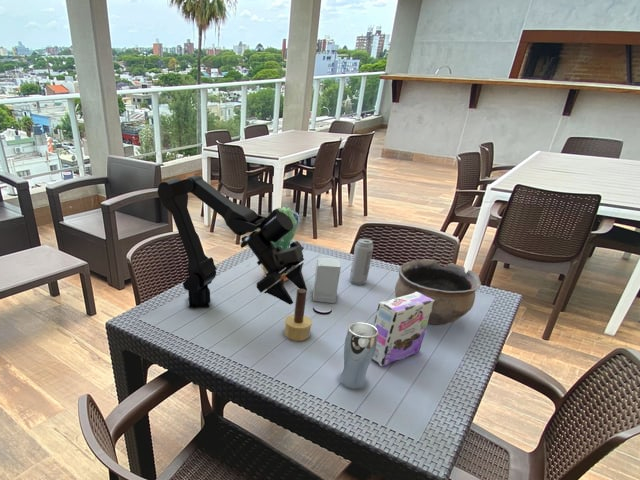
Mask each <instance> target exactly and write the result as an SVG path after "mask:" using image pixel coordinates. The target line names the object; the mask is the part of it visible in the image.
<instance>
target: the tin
mask: <svg viewBox="0 0 640 480" xmlns="http://www.w3.org/2000/svg"><path fill="white" fill-rule="evenodd" d="M311 326H312V325H311ZM311 326H310V327H309V328H307V329H294V328H291V327H289V326H287V325H286V324H285V323H284V336H285V337H286V338H287V339H289V340H290V341H293V342H303V341H306V340H308V339H309V337H310V333H311V328H312V327H311Z"/></svg>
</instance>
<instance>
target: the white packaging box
mask: <svg viewBox="0 0 640 480" xmlns="http://www.w3.org/2000/svg"><path fill="white" fill-rule="evenodd" d="M341 264H342V263H341V259H340V258H331V257H317V260H316V266H315V275H314V281H313V282H314V283H313V289H312V302H318V303H319V302H320V303H331V304H335V303H336V299H337V293H338V286H339V282H340V275H341V274H340V273H341V269H342V265H341Z"/></svg>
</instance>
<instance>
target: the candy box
mask: <svg viewBox="0 0 640 480" xmlns="http://www.w3.org/2000/svg"><path fill="white" fill-rule="evenodd" d="M434 301H435V300H433V299H431V298H429V297H427V296H425V295H423V294H421V293H419V292H415V293H412V294H409V295H405V296H401V297H398V298H396V297H394V298H391V299H387V300H384V301H379V302H378V305H377V311H376V314H375V319H374V322H373V326H374V327H376V328H377V330H378V336H377V344H376V349H375V352H374V355H373V358H372V360H371V361H373V362H375V363H376V364H377V365H378V366H380V367H386V366H388V365H390V364H394V363H396V362H399V361H401V360H404V359H407V358H410V357H413V356H416V355H418V354H419V353H420V351H421V347H422V344H423V341H424V338H425V334H426V330H427V327H428V321H429V317H430V314H431V311H432V308H433V304H434Z"/></svg>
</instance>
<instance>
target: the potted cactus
mask: <svg viewBox="0 0 640 480" xmlns="http://www.w3.org/2000/svg"><path fill="white" fill-rule="evenodd" d="M277 209H278V210H279V211H280V212H283V213H284V214H286V215H287V216H289V217H290V219H291V220H292V223H293V229H292V230H291V231H290V232H288V233H287V234H286V235H285V236H283V237H282V238H281V239H280V240H279V241H277V242H272V243H273V244H274V245H275V247H278V246H279V247H281V248H282V249H283V250H284V249H287V248H290V244H291V243H292V240H293V238H294V237H295V235H296V231H297V228H299V227H300V223H301V217H300V215H299V213H298V212H297V211H295V210H293V209H292V208H291V207H287V208H286V207H285V206H282V207H277ZM256 259H257V262H258V261H259V260H258V258H257V257H256ZM259 266H260V268H261V270H262V271H263V273H264V277H265V276H266V274H267V273H268V272H267V271H266V269H265V268H264V266H263V265H262V264H260V265H259ZM286 274H288V273H283V274H282V275H281V278H280V280H281V279H283V278H284V282H286V281H289V279H288V278H287V277H286V276H285V275H286Z"/></svg>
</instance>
